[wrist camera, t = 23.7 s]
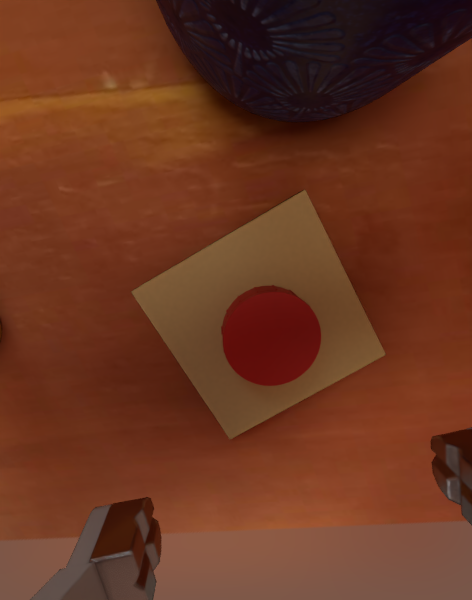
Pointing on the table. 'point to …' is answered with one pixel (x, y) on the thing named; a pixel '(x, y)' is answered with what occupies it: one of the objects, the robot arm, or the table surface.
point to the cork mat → (246, 275)
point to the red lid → (270, 336)
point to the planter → (313, 49)
